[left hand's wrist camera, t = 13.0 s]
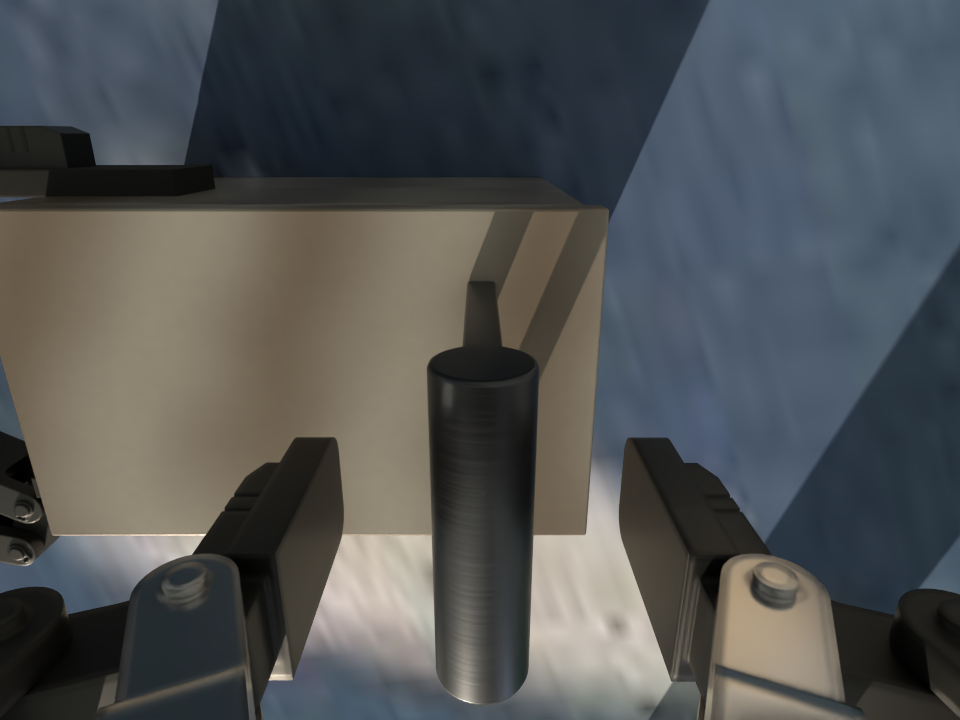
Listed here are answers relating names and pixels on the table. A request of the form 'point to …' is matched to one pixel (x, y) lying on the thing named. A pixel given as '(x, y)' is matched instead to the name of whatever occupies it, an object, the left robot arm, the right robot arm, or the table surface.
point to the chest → (350, 192)
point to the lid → (319, 379)
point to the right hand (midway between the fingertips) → (219, 336)
